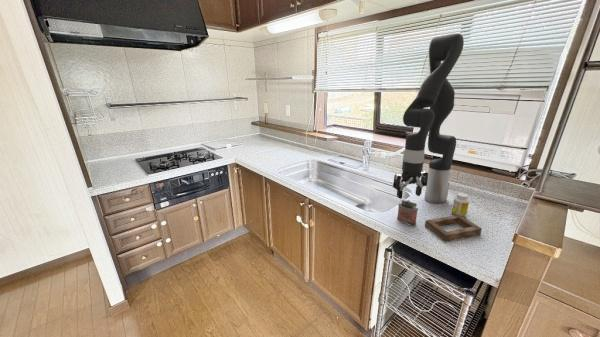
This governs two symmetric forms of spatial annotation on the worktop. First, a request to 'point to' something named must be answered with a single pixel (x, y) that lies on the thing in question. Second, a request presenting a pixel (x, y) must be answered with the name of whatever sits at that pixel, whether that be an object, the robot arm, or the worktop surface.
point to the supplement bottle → (460, 204)
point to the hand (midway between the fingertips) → (408, 196)
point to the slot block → (446, 236)
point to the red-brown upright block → (407, 212)
